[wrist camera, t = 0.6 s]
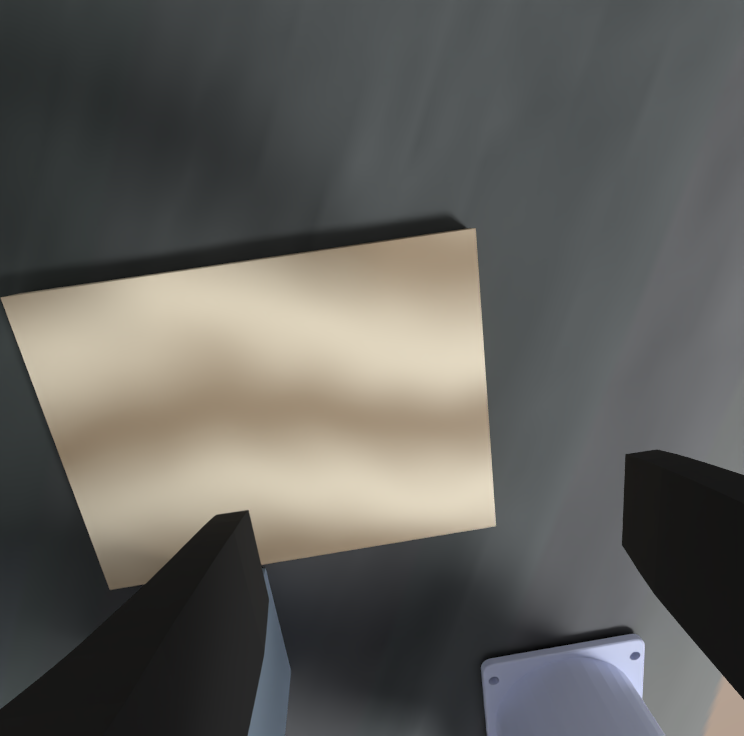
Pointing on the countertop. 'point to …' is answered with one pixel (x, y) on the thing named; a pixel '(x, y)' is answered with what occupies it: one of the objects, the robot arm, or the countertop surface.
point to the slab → (272, 680)
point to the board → (270, 400)
